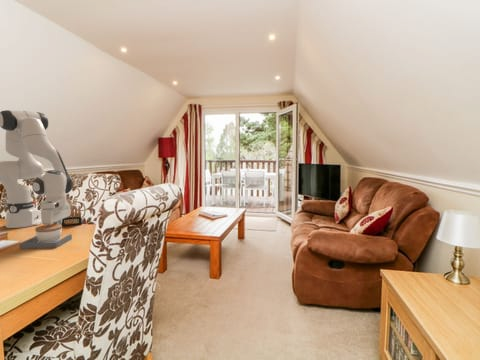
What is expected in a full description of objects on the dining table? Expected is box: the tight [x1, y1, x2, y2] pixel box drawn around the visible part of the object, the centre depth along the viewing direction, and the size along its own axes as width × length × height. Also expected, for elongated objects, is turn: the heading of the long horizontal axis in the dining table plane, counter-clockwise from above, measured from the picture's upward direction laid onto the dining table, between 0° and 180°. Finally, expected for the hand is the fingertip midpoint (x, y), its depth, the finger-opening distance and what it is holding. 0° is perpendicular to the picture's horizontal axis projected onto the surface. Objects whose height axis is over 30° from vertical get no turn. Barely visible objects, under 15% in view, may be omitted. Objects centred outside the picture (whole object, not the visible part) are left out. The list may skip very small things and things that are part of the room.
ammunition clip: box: [61, 205, 83, 228], centre depth 168 cm, size 11×2×12 cm, turn 116°
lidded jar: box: [35, 223, 63, 242], centre depth 135 cm, size 11×11×9 cm
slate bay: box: [19, 233, 73, 250], centre depth 134 cm, size 14×16×2 cm
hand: (58, 228), depth 142 cm, fingers closed
